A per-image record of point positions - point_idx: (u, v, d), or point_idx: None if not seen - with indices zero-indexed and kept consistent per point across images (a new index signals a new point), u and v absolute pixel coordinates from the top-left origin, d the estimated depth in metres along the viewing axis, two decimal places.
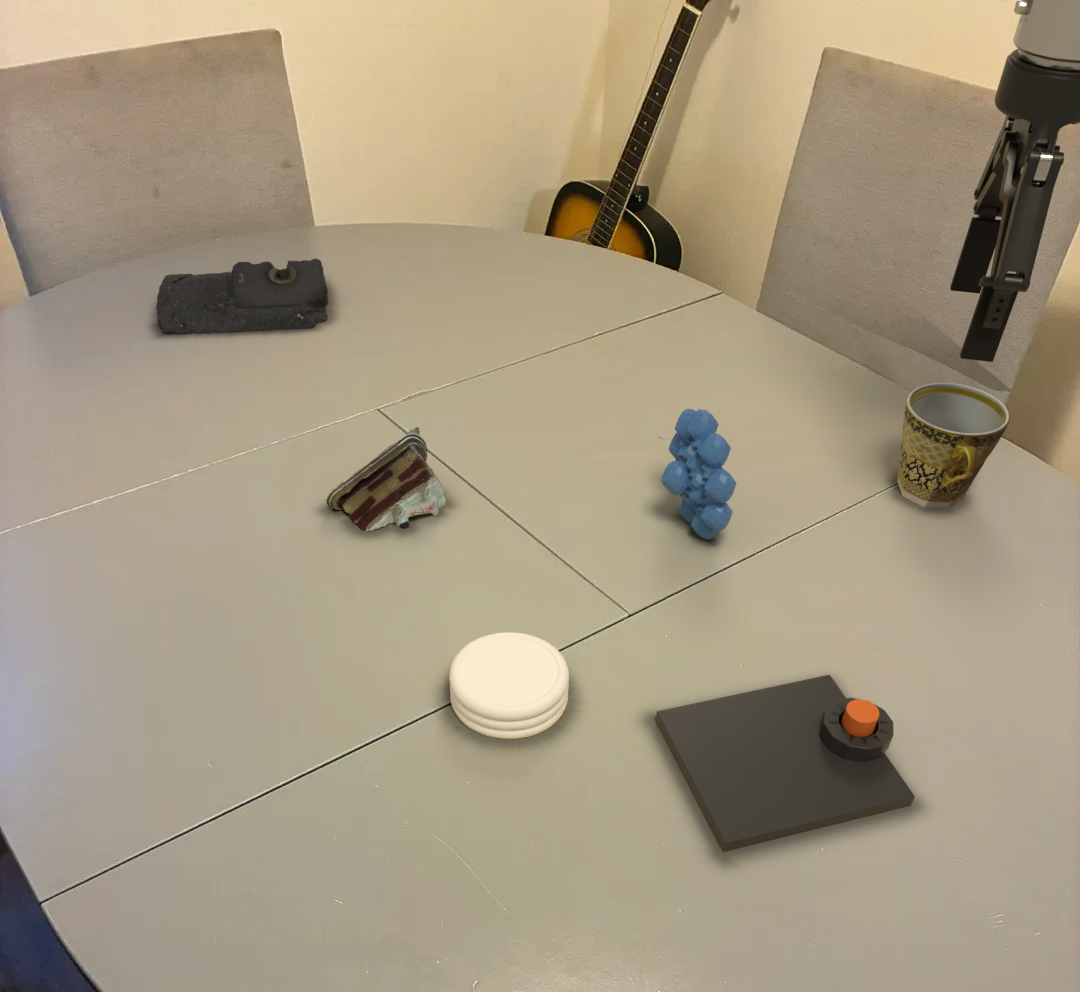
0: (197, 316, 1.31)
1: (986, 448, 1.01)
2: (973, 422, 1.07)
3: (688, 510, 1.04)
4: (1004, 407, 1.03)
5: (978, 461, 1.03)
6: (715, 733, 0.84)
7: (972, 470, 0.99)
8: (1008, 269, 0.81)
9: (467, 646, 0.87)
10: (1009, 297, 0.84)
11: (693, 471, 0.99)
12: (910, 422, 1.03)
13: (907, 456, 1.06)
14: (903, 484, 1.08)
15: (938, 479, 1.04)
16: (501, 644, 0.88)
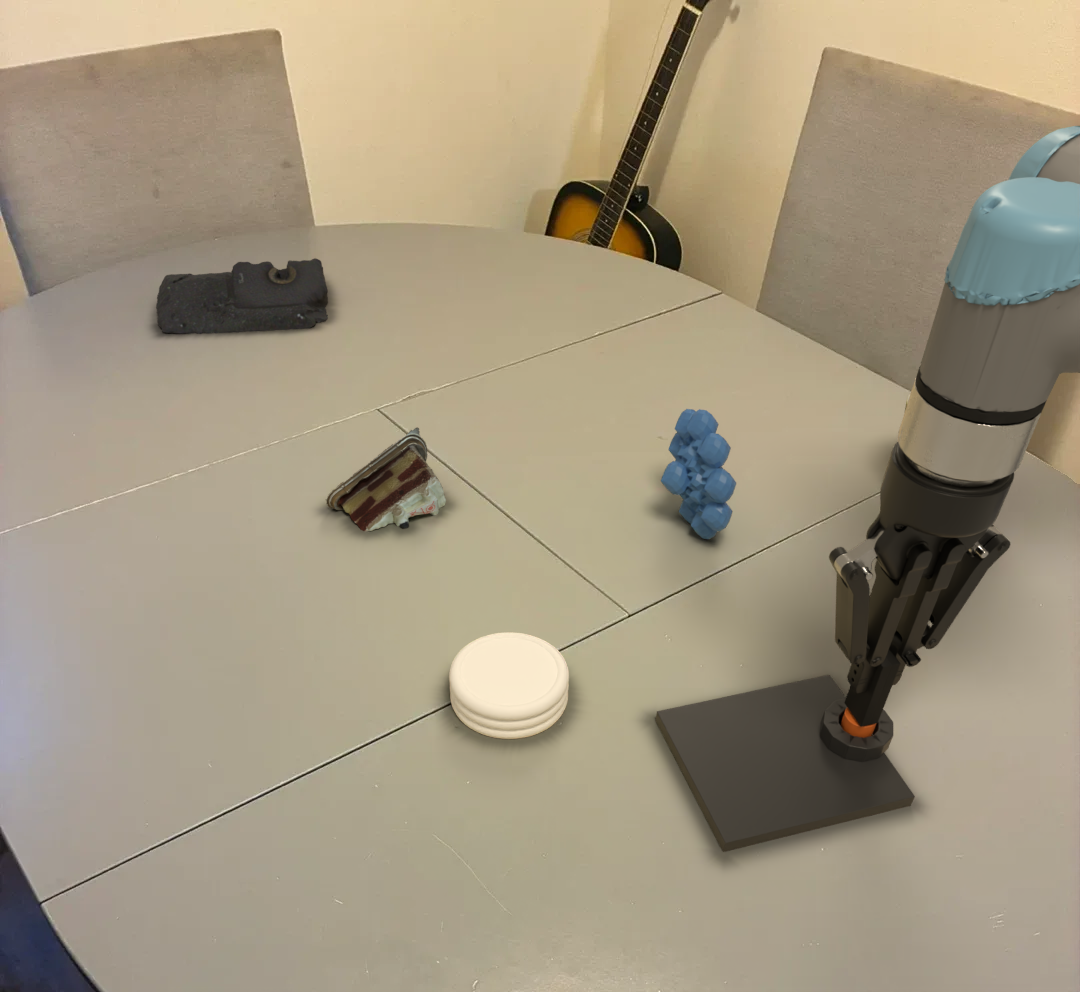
0: (197, 316, 1.31)
1: None
2: None
3: (688, 510, 1.04)
4: None
5: None
6: (715, 733, 0.84)
7: None
8: (839, 637, 0.75)
9: (467, 646, 0.87)
10: (862, 666, 0.77)
11: (693, 471, 0.99)
12: None
13: None
14: None
15: None
16: (501, 644, 0.88)
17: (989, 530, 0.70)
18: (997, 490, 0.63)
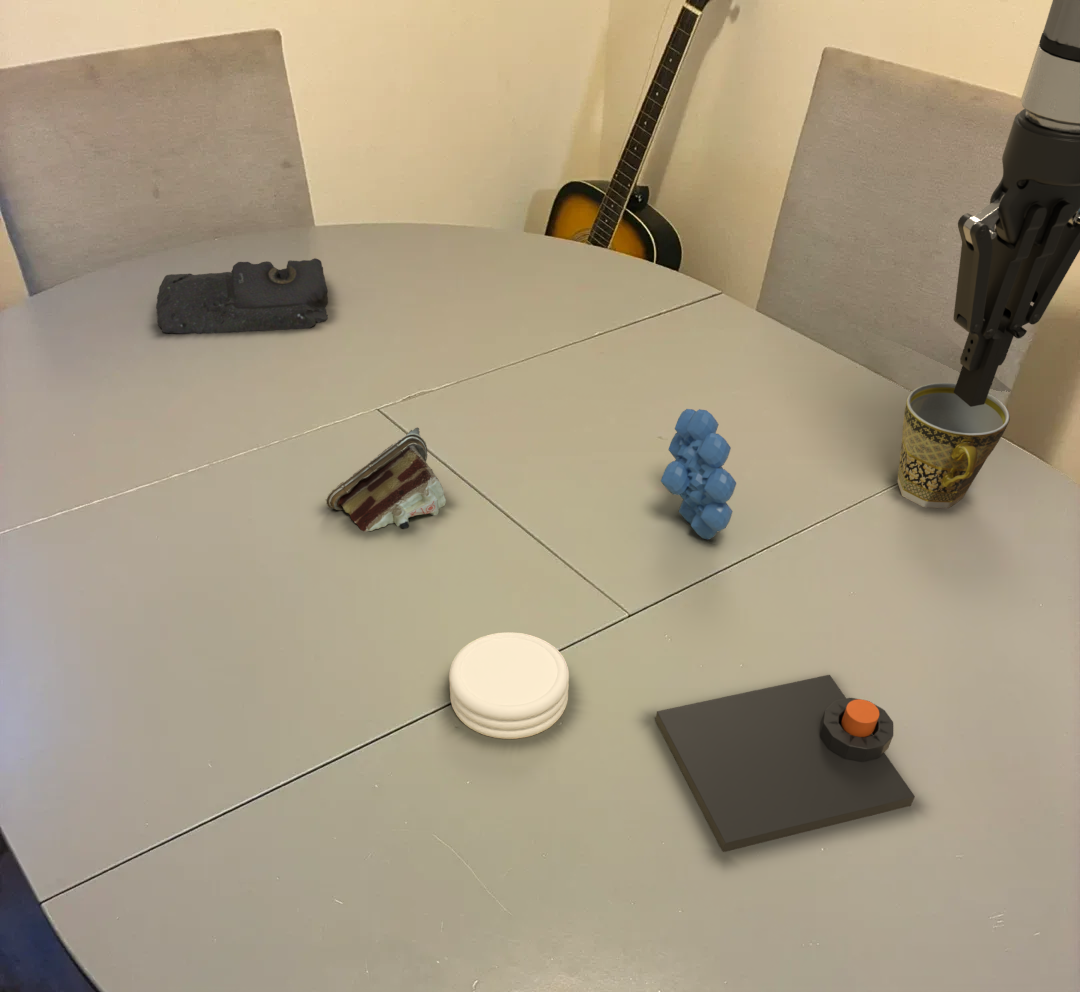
0: (197, 316, 1.31)
1: (986, 448, 1.01)
2: (973, 422, 1.07)
3: (688, 510, 1.04)
4: (1004, 407, 1.03)
5: (978, 461, 1.03)
6: (715, 733, 0.84)
7: (972, 470, 0.99)
8: (958, 312, 0.89)
9: (467, 646, 0.87)
10: (976, 341, 0.90)
11: (693, 471, 0.99)
12: (910, 422, 1.03)
13: (907, 456, 1.06)
14: (903, 484, 1.08)
15: (938, 479, 1.04)
16: (501, 644, 0.88)
17: None
18: None
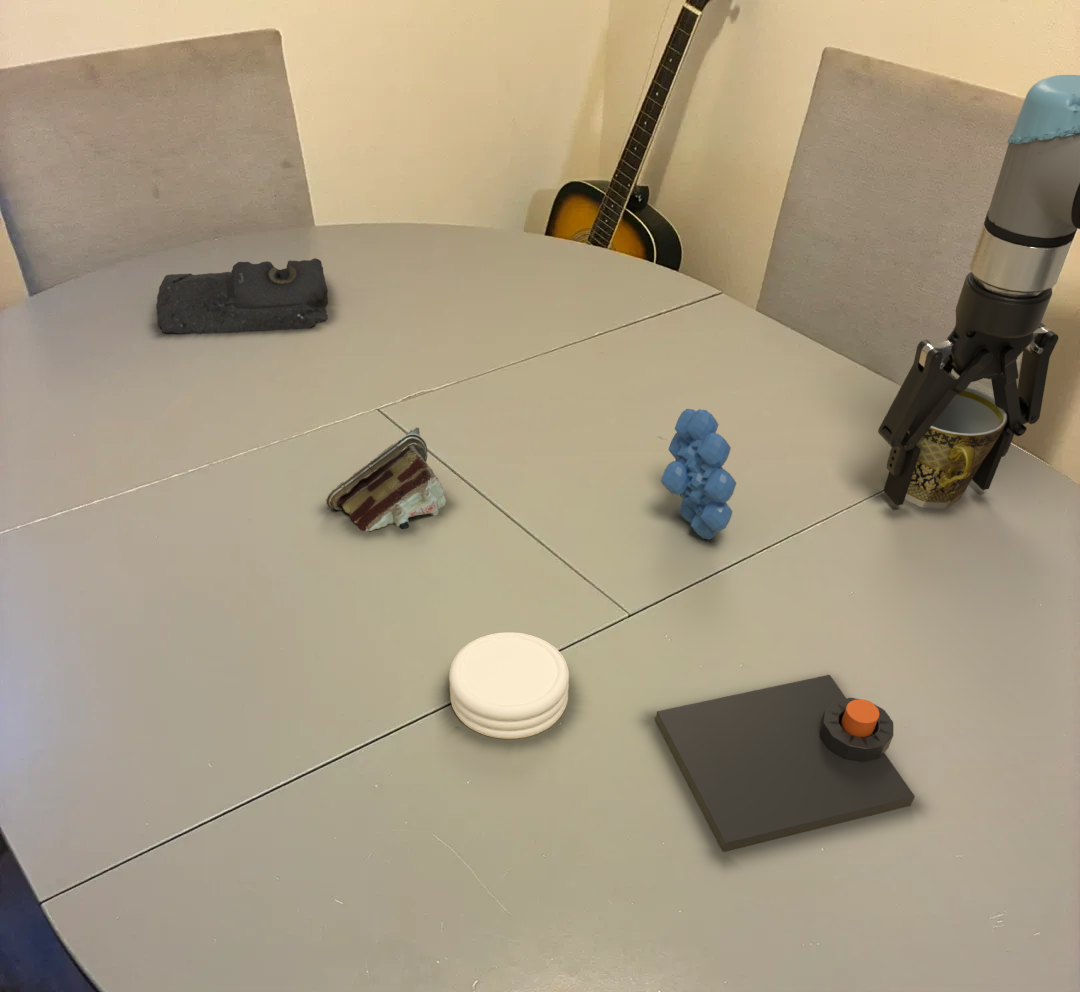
0: (197, 316, 1.31)
1: (984, 448, 1.01)
2: (970, 422, 1.07)
3: (688, 510, 1.04)
4: None
5: (976, 461, 1.03)
6: (715, 733, 0.84)
7: (970, 470, 0.99)
8: (886, 423, 1.01)
9: (467, 646, 0.87)
10: (898, 451, 1.02)
11: (693, 471, 0.99)
12: None
13: None
14: None
15: (935, 479, 1.04)
16: (501, 644, 0.88)
17: (1037, 333, 0.97)
18: (1041, 301, 0.90)
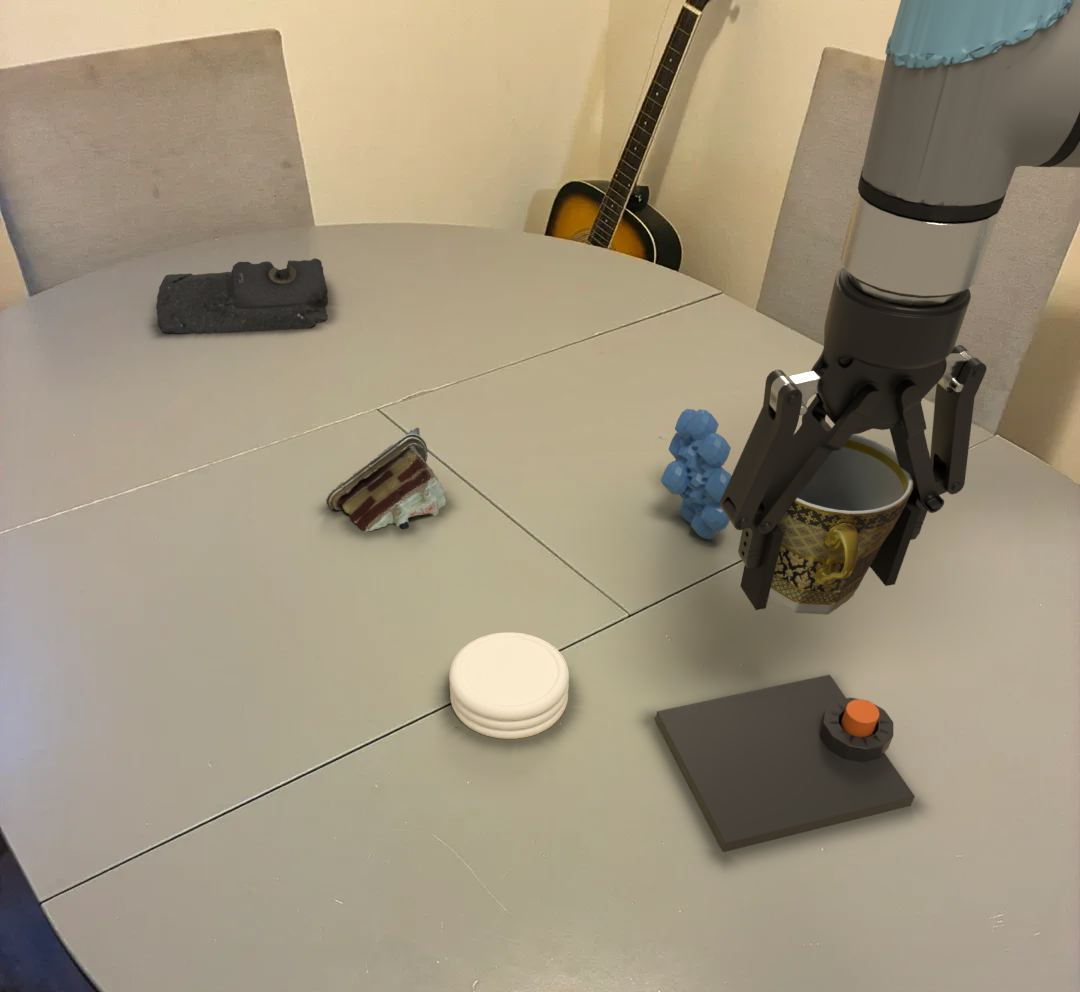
0: (197, 316, 1.31)
1: (877, 532, 0.67)
2: (866, 488, 0.73)
3: (688, 510, 1.04)
4: None
5: (867, 549, 0.69)
6: (715, 733, 0.84)
7: (851, 568, 0.65)
8: (729, 494, 0.66)
9: (467, 646, 0.87)
10: (751, 534, 0.68)
11: (693, 471, 0.99)
12: None
13: None
14: None
15: (809, 573, 0.70)
16: (501, 644, 0.88)
17: (953, 361, 0.63)
18: (950, 311, 0.56)
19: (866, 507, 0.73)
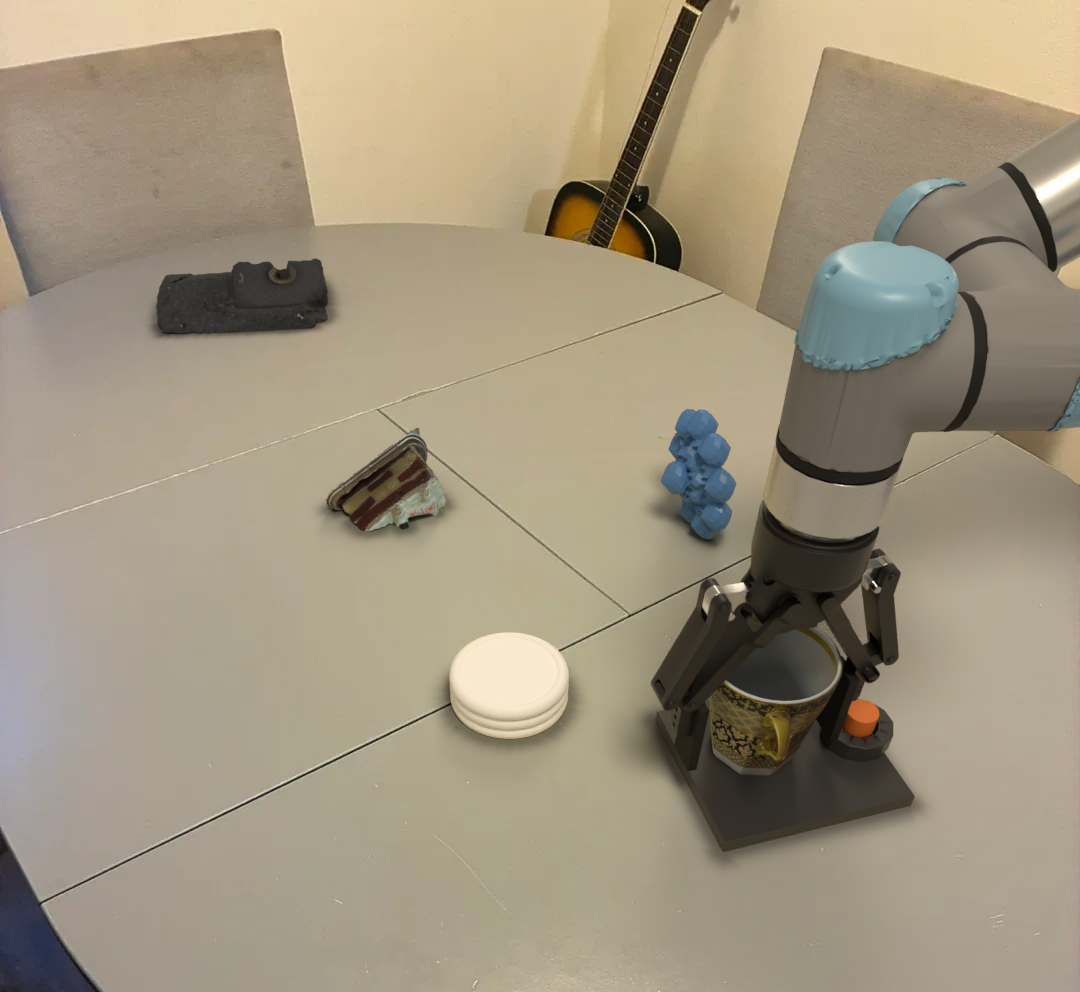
0: (197, 316, 1.31)
1: (809, 714, 0.74)
2: (803, 661, 0.80)
3: (688, 510, 1.04)
4: (837, 653, 0.76)
5: (801, 727, 0.76)
6: None
7: (784, 754, 0.72)
8: (659, 677, 0.72)
9: (467, 646, 0.87)
10: (680, 711, 0.74)
11: (693, 471, 0.99)
12: None
13: (712, 712, 0.78)
14: (712, 741, 0.81)
15: (751, 746, 0.77)
16: (501, 644, 0.88)
17: (870, 569, 0.69)
18: (859, 547, 0.63)
19: (804, 678, 0.80)
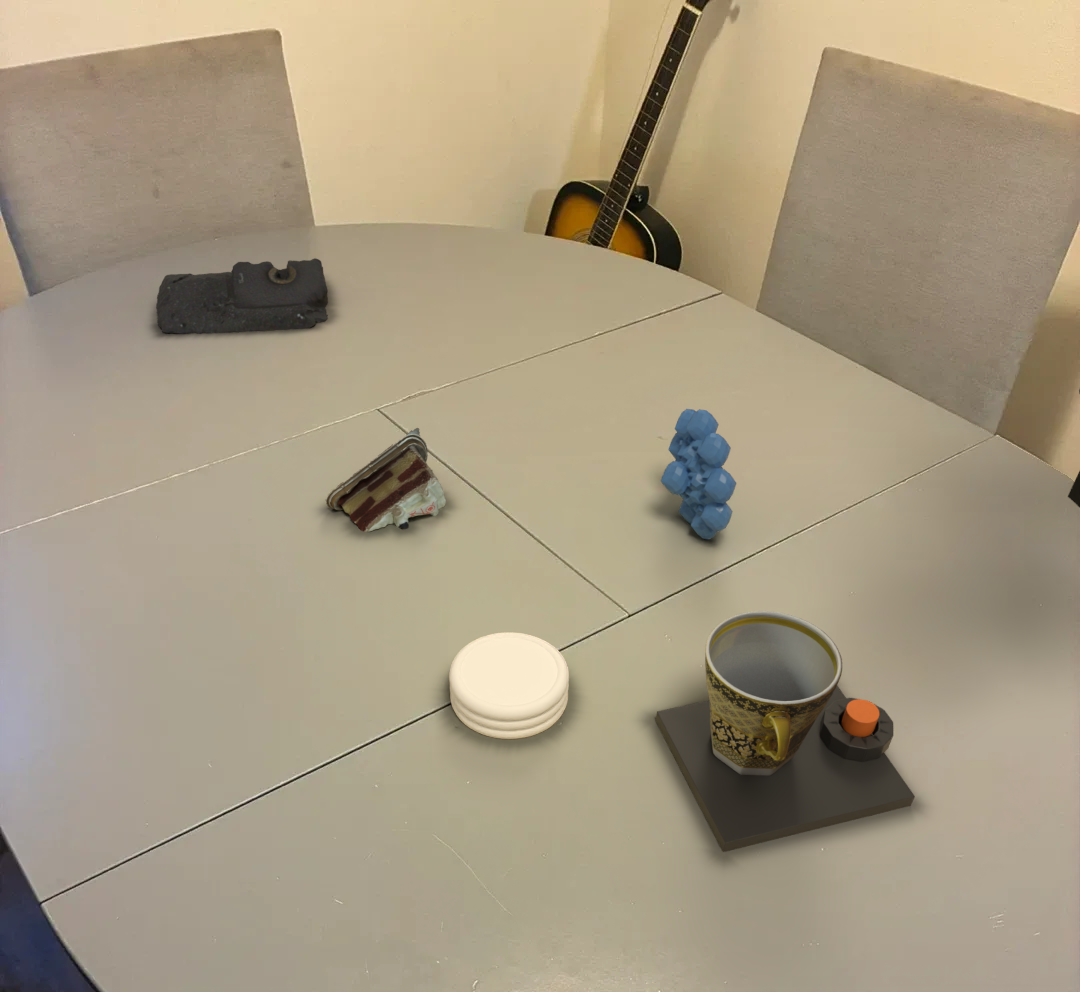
0: (197, 316, 1.31)
1: (809, 715, 0.74)
2: (803, 661, 0.80)
3: (688, 510, 1.04)
4: (837, 653, 0.76)
5: (801, 727, 0.76)
6: None
7: (784, 754, 0.72)
8: None
9: (467, 646, 0.87)
10: None
11: (693, 471, 0.99)
12: (708, 675, 0.76)
13: (712, 712, 0.78)
14: (712, 741, 0.81)
15: (751, 746, 0.77)
16: (501, 644, 0.88)
17: None
18: None
19: (804, 678, 0.80)
